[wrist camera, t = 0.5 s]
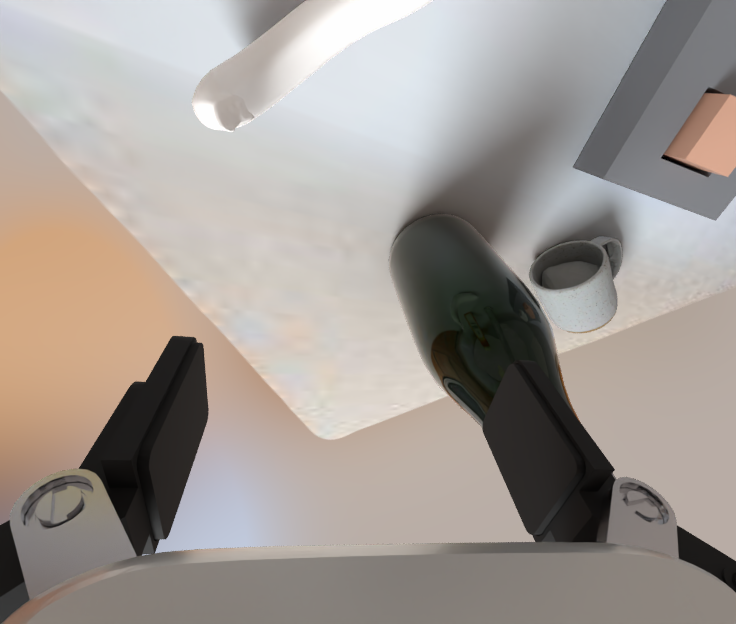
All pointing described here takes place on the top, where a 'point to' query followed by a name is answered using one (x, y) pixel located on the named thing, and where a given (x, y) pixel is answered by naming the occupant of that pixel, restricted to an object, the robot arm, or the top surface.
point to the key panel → (668, 107)
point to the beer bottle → (468, 311)
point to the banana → (289, 57)
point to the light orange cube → (708, 136)
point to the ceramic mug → (578, 283)
